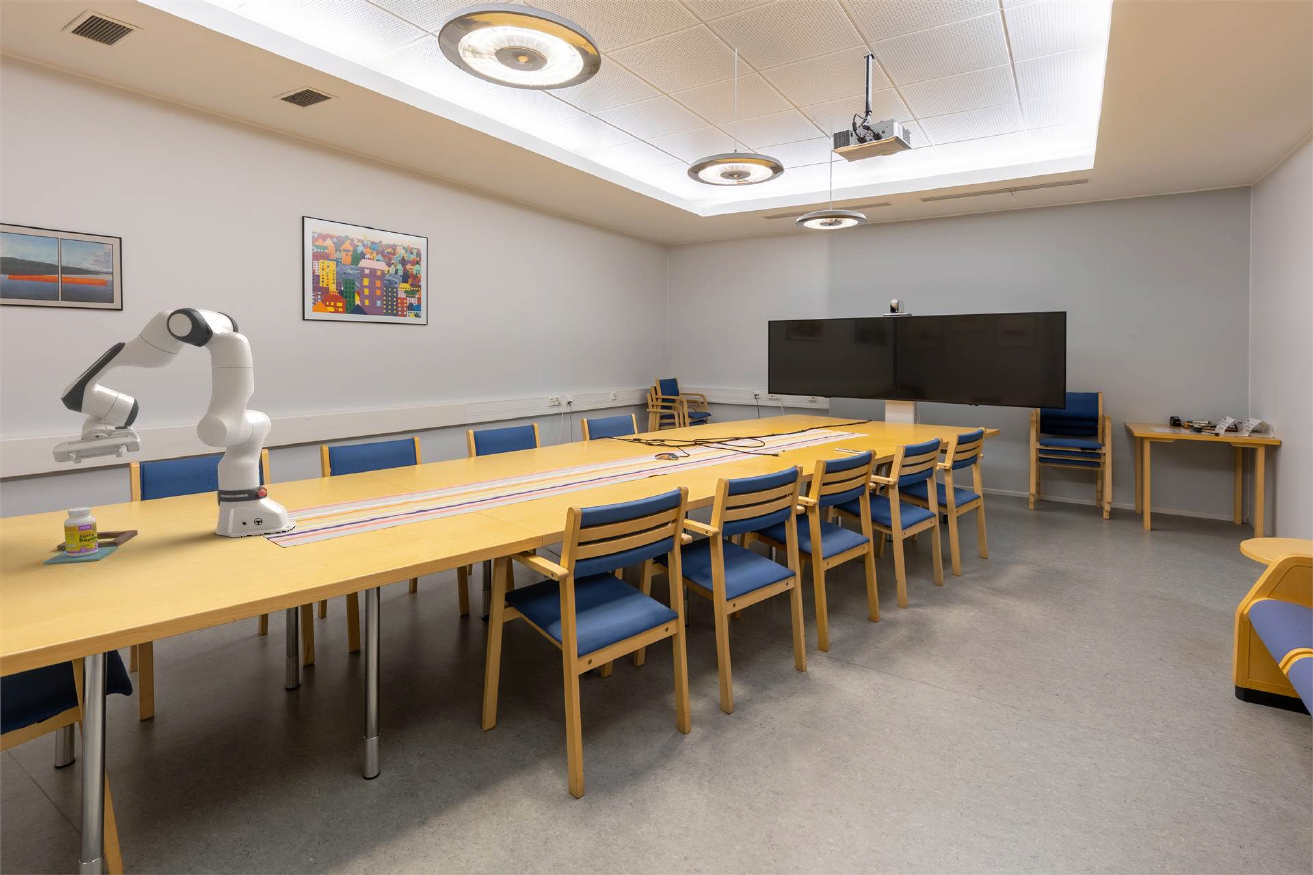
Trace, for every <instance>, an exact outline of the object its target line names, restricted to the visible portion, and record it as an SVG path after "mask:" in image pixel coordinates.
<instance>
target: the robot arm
mask: <svg viewBox="0 0 1313 875" xmlns="http://www.w3.org/2000/svg"><path fill="white" fill-rule="evenodd" d="M186 344H188V345H191V346H195V347H198V348H202V347H205V348H206V349H207V350H208V352H209V353H210V361H211V362H210V364H211V384H212V386H211V388H212V389H211V390H212V391H211V396H210V402H209V404H208V408H207V410H206V413H205V415H204V416H203V417H202V418H201V419H200V420H199V422H198V424H197V425H196V426H197V427H196V434H197V435H196V436H198V437H197V438H198V439H199V441H201V443H202V444H204V445H206V446H208V447H213V448H226V449H225V451H224V452H225V453H224V455H223V456H222V458H221V460H220V461H219V462H218V464H217V479H218V482H217V483H218V489H217V493H216V497H217V500H216V502H217V506H218V507H219V508H218V509H219V510H218V519H217V523H216V524H217V526H216V528H215V534H216V535H219V536H225V537H229V538H240V537H241V536H242V537H248V536H247V535H252V536H261V535H265V534H264V533H271V534H277V533H276V532H280V533H283V532H282V531H286V530H289V531H291V530H290V529H291V528H293V527H294V526H295V525H296V526H297V521H296V519H295V520H294V519H289V518H290V517H289V514H288V511H287V508H286V507H285V506H284V505H283V504H280V503H278V502H277V501H275V500H273V499H271V498H270V497H268V487H267V486H265V487H264V486H262V485H260V466H259V465H260V457H261V453H262V450H263V446H264V442H265V440H266V439H267V437H268V435H270V432H271V431H272V422H271V419H270V417H269V416H268V415H267V414H266V413H265V412H262V411H258V410H254V409H247V405H248V402H249V400H250V398H251V397H252V396H253V394H254V392H255V380H254V379H255V377H254V376H255V375H254V374H255V373H254V363H253V362H254V361H253V354H252V350H251V345H250V342H249V339H248V337H246V336H245V335H244V334H242V333H239V326H238V323H237V322H236V320H235V319H234V318H233V317H232V316H230V315H228V314H226V313H223V312H221V311H217V312H216V311H213V310H209V309H207V308H205V309H204V308H191V307H184V308H179V309H175V310H170V309H166V310H165V309H164V310H161V311H160V312H158V313H157V314H156V315H155V316H153V318H151V319H150V320H149V321H148V323H146V325H145V326H144V327H143V329H142V330H141V331H140V332H139V334H138V335H137V336H136V337H135V338H133V339H130V340H129V341H126V342H122V341H121V342H117V343H115V344H114V345H112V346H110V348H109V349H108V350H106V351H105V352H104V353H103V354H102V355H101V356H100V357H99V358H97V359H96V360H95V362H93V363H92V364H91V365H90V366H89V367H88V368H87V369H86V370H85V371H84V372H82V373H81V374H80V375H79V376H78V377H77V378H75V379H74V380H73V381H71V382H70V383H69V384H68V385H66V387H65V388H64V389H63V391H62V393H61V396H60V400H61V401H62V404H63V405H64V407H65V408H66V409H68V411H73V412H77V413H82V414H85V415H88V416H87V417H86V418H85V420H84V423H83V424H82V428H81V433H80V434H81V436H80V439H76V440H71V441H63V442H59V443H58V444H57V445H55V446H54V448H53V450H52V454H53V455H52V456H53V459H54V461H55V462H57V463H66V462H73V463H74V464H81V463H82V460H86V459H94V458H99V457H100V458H101V457H107V456H113V455H115V456H116V458H120V457H121V458H123V457H124V455H126V454H127V453H134V452H140V451H141V450H143V445H142V441H141V438H140V435H139V434H138V432H136V431H135V429H134V427H133V426H132V425H133V424H134V422H135V421H136V419H137V416H138V414H139V410H140V406H139V403H138V400H137V399H136V398H135V397H133V396H131V395H128V394H125V393H122V392H120V391H117V390H114V389H111V388H108V387H105V386H103V385H100V384H98V383H99V382H100V381H101V380H102V379H104V377H105V376H106V375H108V373H109V372H111V370H113V369H115V368H118V367H135V368H136V367H138V368H143V369H159V368H164V367H166V366H168V365H170V364H171V363H172V362H173V361H174V360H175V359H176V358H177V356H179V353H181V351H182V349H183V348H184V346H185V345H186ZM296 526H295V527H296ZM293 529H294V528H293ZM286 532H287V531H286ZM260 534H261V535H260Z"/></svg>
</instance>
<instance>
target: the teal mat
mask: <svg viewBox="0 0 1313 875" xmlns="http://www.w3.org/2000/svg"><path fill="white" fill-rule="evenodd" d="M118 549H120V548H119V546H117V547H102V548H98V551H97V552H96V553H94V554H91V555H87V556H80V557H70V556H67V554H66V550H63V551H62V552H60V553H58V554H56V555H55V556H52V557H51V558H49V559H47V560H45V561H44V562H43V563H42V564H43V565H56V564H57V563H59V564H71V563H81V562H83V563H85V562H97V561H98V562H99V561H100V560H102V559H104V558H106V557H107V556H109V555H110V554H112V553H114V552H115V551H117V550H118ZM57 565H58V564H57Z"/></svg>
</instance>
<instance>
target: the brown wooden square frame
mask: <svg viewBox="0 0 1313 875" xmlns="http://www.w3.org/2000/svg"><path fill="white" fill-rule="evenodd" d="M138 534H139V533H138V529H129V530H114V531H113V530H112V531H97V539H112V538H113V539H112V540H103V541H102V540H100V541H99V540H97V541H98V548H102V547H117V546H118V547H119V546H121V545H123V544H125V543H126V542H128V541H130V540H131V539H133V538H134V537H136V536H138ZM56 547H57V548H56V550H57V551H58V552H59V550H61V551H66V543H65V541H64V542H62V543H60V544H58V545H57V546H56Z"/></svg>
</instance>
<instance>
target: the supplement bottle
mask: <svg viewBox="0 0 1313 875" xmlns="http://www.w3.org/2000/svg"><path fill="white" fill-rule="evenodd" d="M67 515H68V517H69V518H67V519H65V520H64V522H63V527H64V528H63V530H64V542H65V543H66V550H65V551H66V554H67V556H70V557H80V556H87V555H91V554H94V553H96V552H97V551H98V541H99V540H98V538H97V532H98V531H97V520H96V518H95V517H94V516H92V515H91V507H88V506H84V507H83V506H82V507H74V508H69V509H67Z"/></svg>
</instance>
